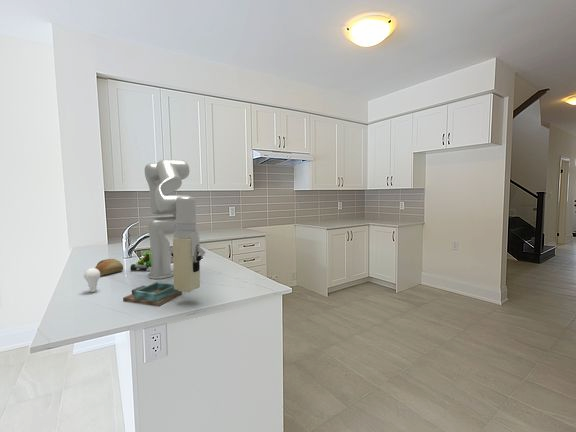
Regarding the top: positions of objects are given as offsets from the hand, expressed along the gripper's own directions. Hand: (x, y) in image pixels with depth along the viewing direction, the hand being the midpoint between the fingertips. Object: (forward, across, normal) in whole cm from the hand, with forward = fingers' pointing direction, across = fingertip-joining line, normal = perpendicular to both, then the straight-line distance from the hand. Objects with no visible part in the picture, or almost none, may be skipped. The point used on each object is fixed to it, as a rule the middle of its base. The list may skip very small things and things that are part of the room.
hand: (187, 270), depth 118 cm
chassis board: (+14, -17, 0) cm, 22 cm away
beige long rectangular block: (+8, 0, 0) cm, 8 cm away
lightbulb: (+15, -48, -4) cm, 51 cm away
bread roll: (+15, -68, +21) cm, 73 cm away
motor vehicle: (+16, -57, +38) cm, 70 cm away
